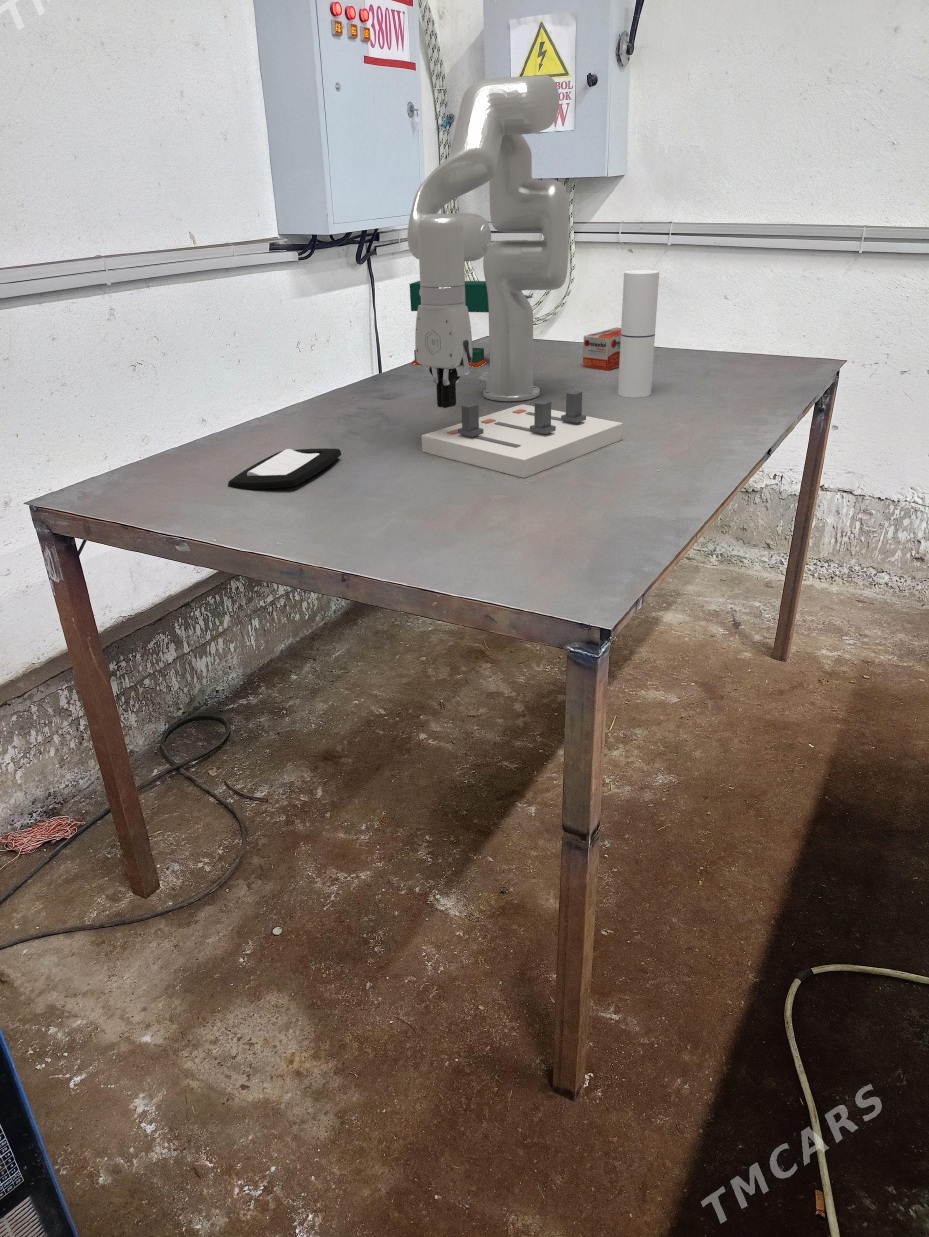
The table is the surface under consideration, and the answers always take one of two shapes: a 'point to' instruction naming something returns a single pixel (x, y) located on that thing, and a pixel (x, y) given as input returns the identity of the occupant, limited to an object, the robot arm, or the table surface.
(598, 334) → the medicine box
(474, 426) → the breaker
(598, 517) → the table surface
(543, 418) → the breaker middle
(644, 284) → the cylindrical container
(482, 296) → the power tool
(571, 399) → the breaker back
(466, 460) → the breaker panel
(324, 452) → the light switch
